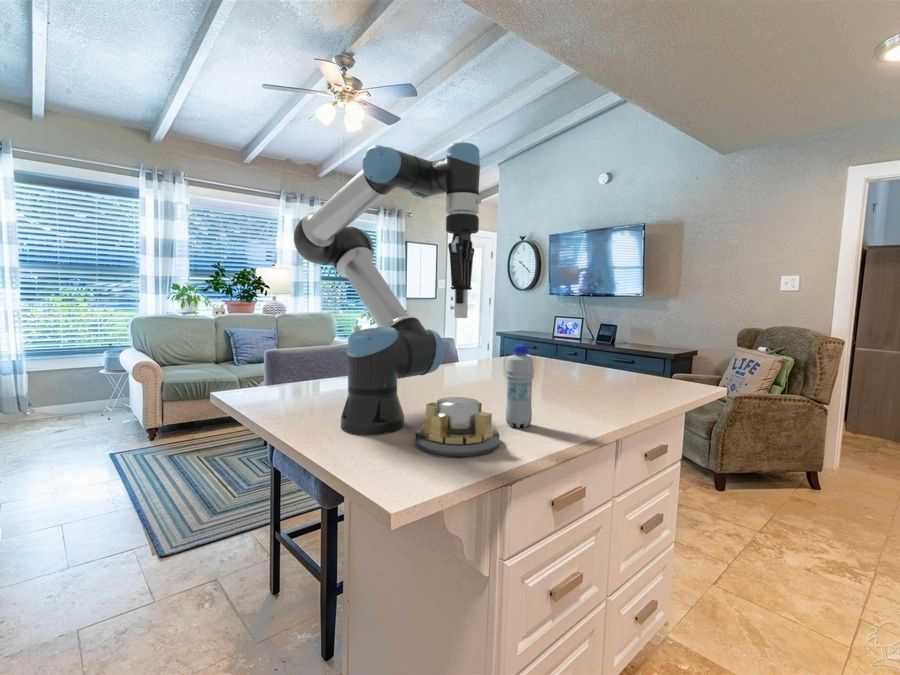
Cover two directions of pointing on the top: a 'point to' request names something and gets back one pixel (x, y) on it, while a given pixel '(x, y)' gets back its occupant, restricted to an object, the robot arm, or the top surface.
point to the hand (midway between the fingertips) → (460, 317)
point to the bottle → (519, 387)
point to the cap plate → (457, 447)
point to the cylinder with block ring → (438, 428)
